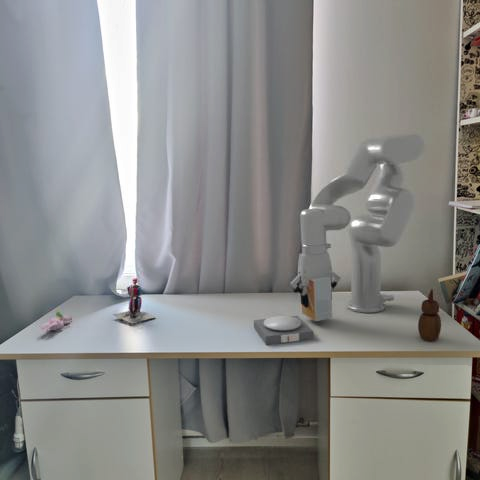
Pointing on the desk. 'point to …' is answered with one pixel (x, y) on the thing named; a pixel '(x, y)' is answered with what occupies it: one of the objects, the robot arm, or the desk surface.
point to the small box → (319, 299)
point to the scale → (282, 329)
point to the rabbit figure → (57, 322)
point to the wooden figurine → (429, 319)
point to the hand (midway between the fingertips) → (316, 304)
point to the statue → (134, 307)
